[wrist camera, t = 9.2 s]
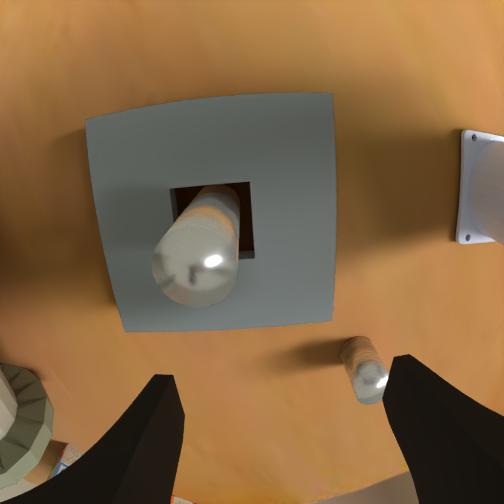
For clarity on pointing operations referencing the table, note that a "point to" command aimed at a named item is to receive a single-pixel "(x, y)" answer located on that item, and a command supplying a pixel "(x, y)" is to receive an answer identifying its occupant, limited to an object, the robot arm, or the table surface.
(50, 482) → the robot arm
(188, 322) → the board
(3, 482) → the spool
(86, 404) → the table surface
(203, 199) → the long pin
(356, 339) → the short pin
